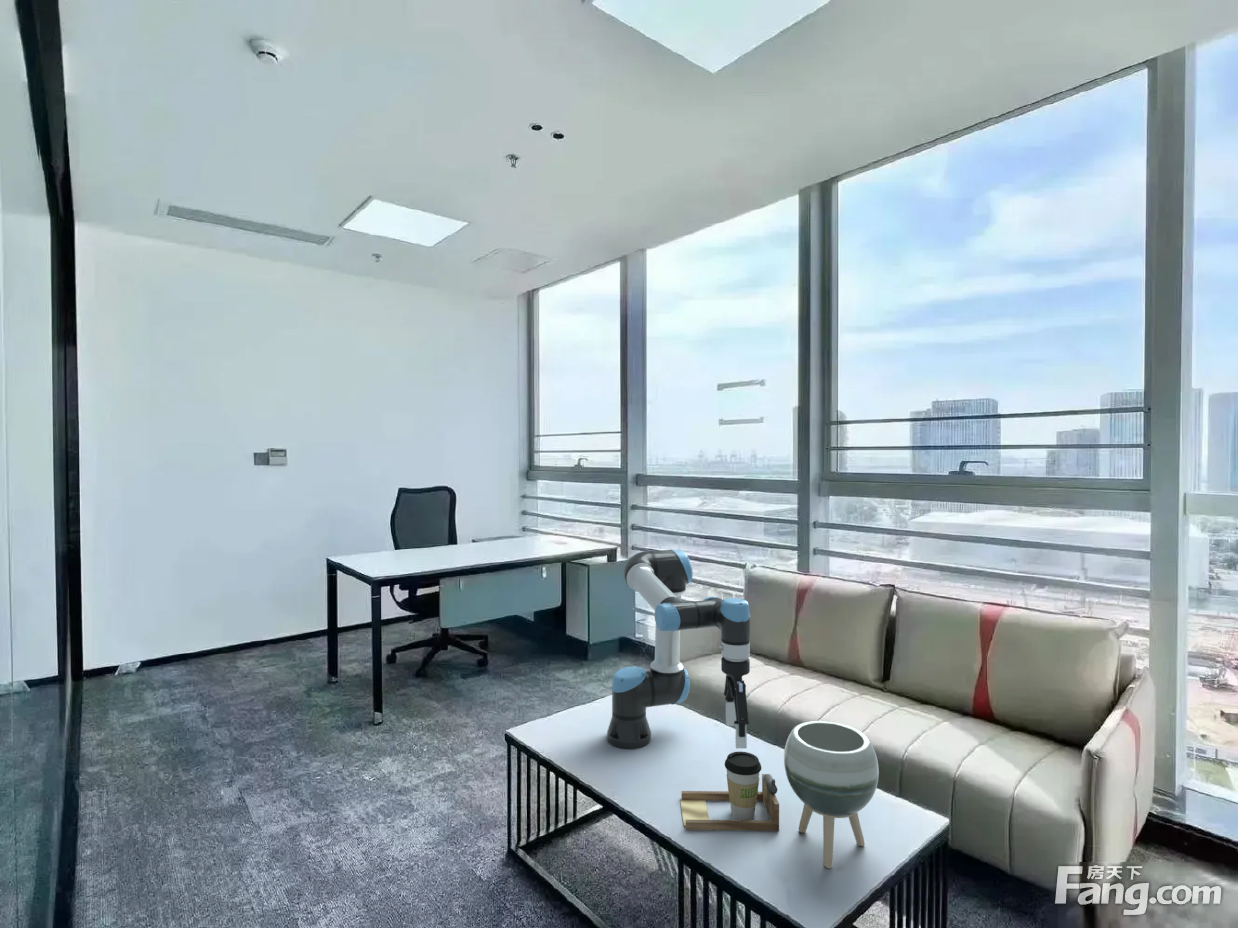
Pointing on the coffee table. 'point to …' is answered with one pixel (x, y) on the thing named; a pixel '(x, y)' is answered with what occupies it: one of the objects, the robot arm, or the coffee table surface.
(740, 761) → the coffee cup
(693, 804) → the bay
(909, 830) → the coffee table surface
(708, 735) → the coffee table surface
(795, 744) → the planter
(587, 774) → the coffee table surface
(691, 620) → the robot arm
